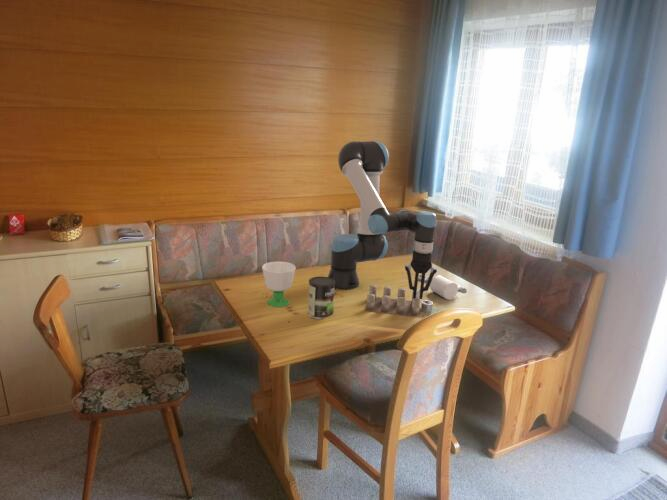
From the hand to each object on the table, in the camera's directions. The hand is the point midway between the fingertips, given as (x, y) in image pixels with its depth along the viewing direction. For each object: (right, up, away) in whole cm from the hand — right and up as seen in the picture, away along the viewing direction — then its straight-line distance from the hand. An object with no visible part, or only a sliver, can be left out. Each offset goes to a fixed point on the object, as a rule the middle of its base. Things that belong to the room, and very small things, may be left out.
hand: (416, 305), depth 199 cm
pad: (+6, -3, 0) cm, 6 cm away
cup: (-57, +1, +2) cm, 57 cm away
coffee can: (-39, -3, -6) cm, 40 cm away
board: (-10, -1, +2) cm, 10 cm away
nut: (+4, -2, 0) cm, 4 cm away
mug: (+17, +2, +20) cm, 26 cm away
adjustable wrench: (+17, +6, +31) cm, 36 cm away
